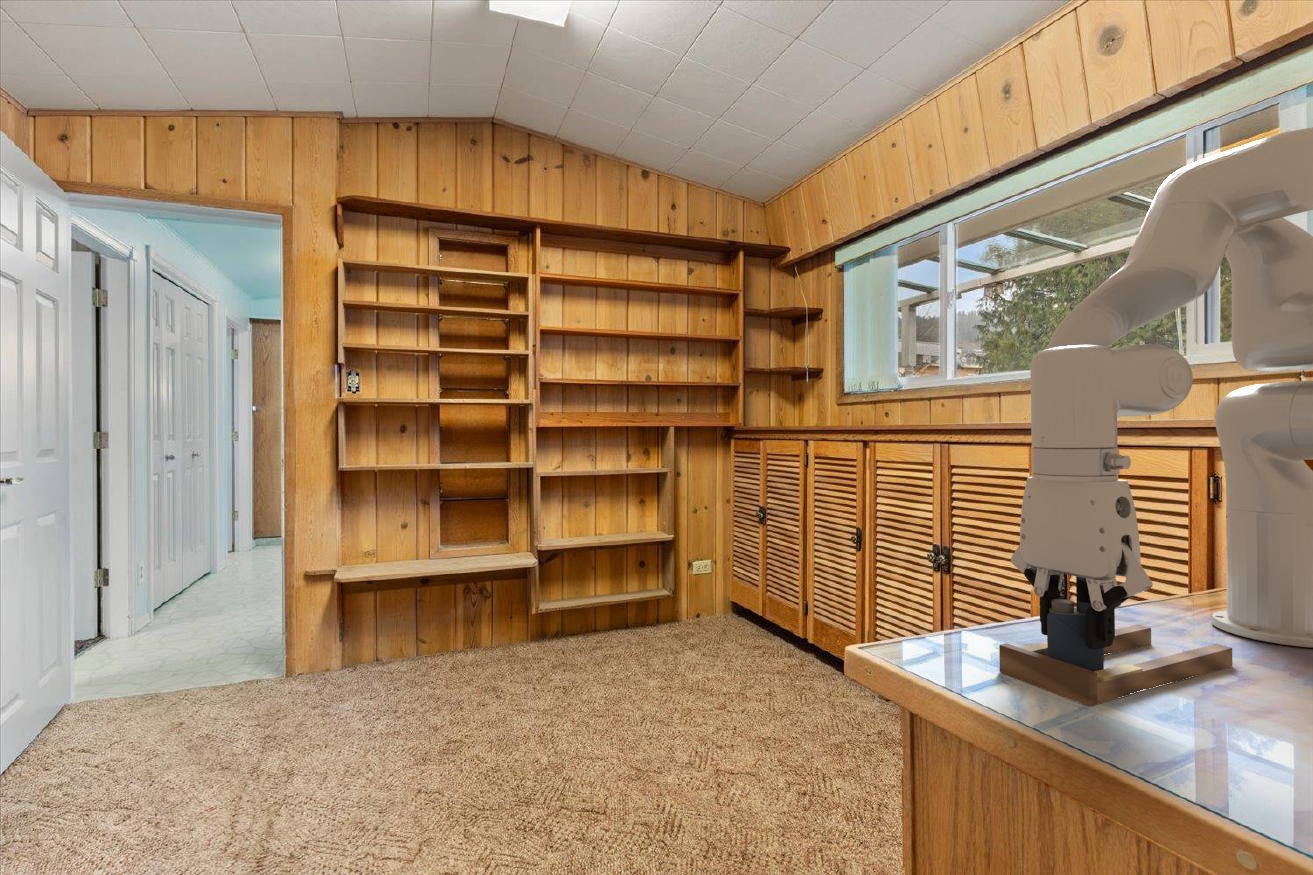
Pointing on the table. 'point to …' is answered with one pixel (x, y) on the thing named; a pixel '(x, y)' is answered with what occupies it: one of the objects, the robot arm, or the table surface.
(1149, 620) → the table surface
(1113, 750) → the table surface
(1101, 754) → the table surface
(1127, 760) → the table surface
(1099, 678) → the rail channel
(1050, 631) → the vaping device
